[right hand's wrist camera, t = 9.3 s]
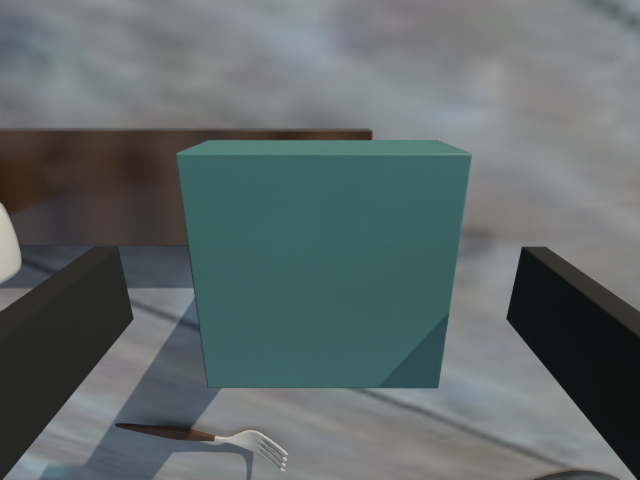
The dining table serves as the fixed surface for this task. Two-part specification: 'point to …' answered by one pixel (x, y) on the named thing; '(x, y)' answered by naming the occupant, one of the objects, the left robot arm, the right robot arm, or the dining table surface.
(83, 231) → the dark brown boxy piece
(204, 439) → the fork
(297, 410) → the dining table surface
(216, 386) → the cap block
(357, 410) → the dining table surface
